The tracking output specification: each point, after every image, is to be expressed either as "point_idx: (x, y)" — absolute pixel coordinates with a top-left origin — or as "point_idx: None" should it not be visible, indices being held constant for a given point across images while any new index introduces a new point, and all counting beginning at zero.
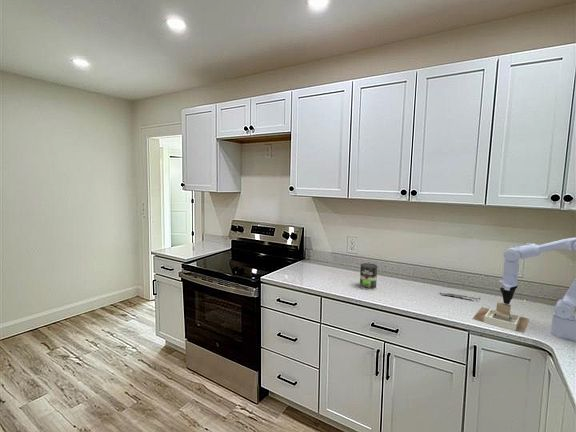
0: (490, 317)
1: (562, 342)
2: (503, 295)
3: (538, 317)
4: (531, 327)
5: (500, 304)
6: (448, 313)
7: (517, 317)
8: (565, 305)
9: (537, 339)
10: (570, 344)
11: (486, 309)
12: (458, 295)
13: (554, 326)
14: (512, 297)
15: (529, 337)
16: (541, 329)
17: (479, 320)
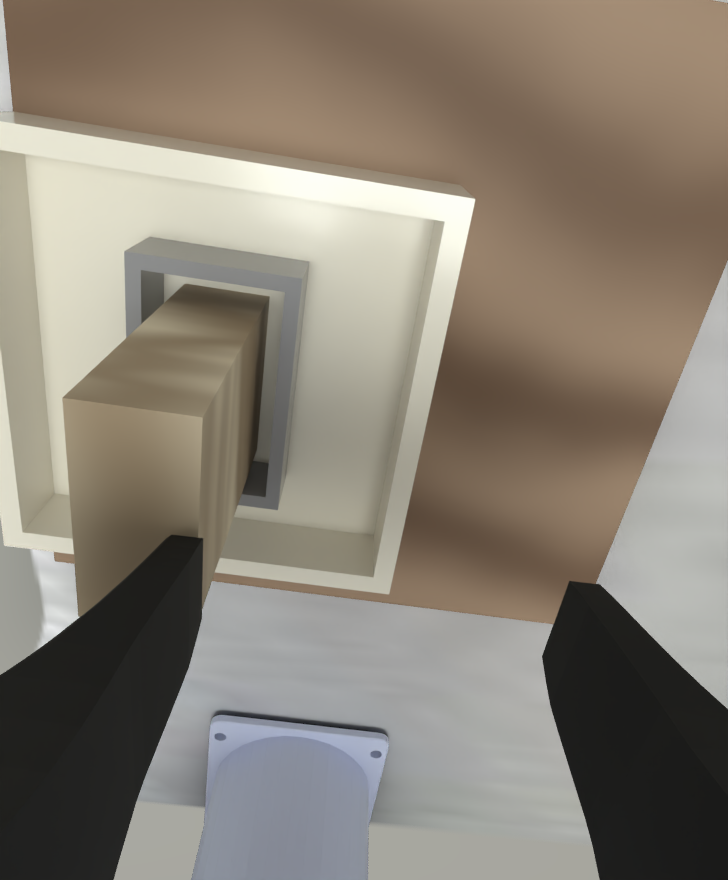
0: None
1: (158, 767)
2: (15, 683)
3: (721, 683)
4: (354, 615)
5: (70, 464)
6: None
7: (373, 555)
8: None
9: (55, 635)
10: (162, 799)
11: (704, 122)
12: None
13: (224, 833)
14: (564, 714)
15: (44, 585)
16: (360, 678)
17: (28, 26)
